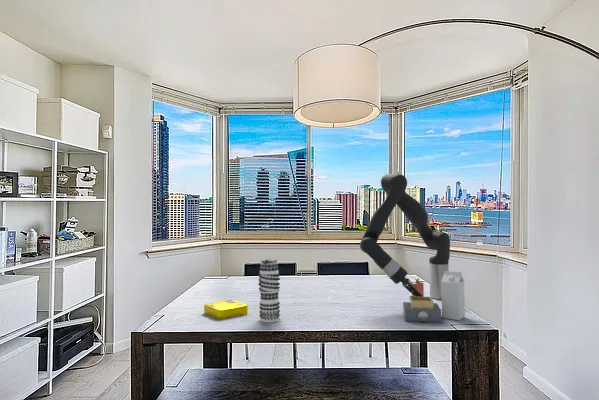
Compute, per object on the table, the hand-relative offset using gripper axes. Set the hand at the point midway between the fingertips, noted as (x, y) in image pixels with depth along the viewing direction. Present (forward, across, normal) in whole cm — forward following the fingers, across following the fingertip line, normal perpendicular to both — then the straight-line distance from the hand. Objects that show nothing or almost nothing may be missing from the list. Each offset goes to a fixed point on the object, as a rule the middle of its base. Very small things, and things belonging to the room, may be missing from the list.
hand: (422, 298), depth 183 cm
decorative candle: (-41, -25, +49) cm, 69 cm away
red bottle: (+2, 0, +5) cm, 6 cm away
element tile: (-57, -18, +65) cm, 88 cm away
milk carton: (+12, -11, -4) cm, 17 cm away
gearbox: (+2, -14, +5) cm, 15 cm away
